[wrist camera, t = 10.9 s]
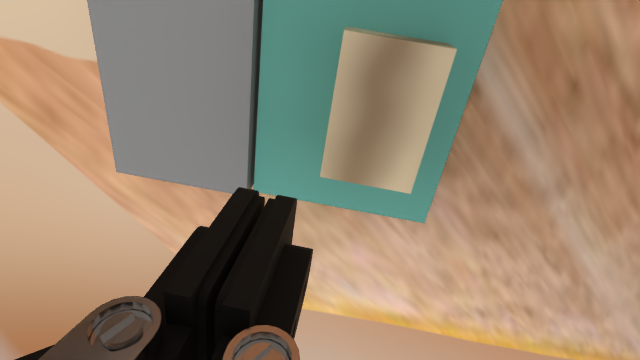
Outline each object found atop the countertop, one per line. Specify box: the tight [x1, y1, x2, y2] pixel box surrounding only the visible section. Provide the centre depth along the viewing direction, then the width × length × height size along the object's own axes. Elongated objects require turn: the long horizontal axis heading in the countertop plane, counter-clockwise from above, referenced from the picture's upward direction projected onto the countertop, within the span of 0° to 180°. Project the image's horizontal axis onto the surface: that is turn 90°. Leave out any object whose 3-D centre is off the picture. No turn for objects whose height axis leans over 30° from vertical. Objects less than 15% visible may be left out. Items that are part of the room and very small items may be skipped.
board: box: [87, 0, 263, 194], centre depth 23 cm, size 10×18×2 cm, turn 172°
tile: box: [320, 26, 457, 194], centre depth 22 cm, size 6×9×2 cm, turn 172°
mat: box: [254, 0, 503, 223], centre depth 22 cm, size 13×18×1 cm
